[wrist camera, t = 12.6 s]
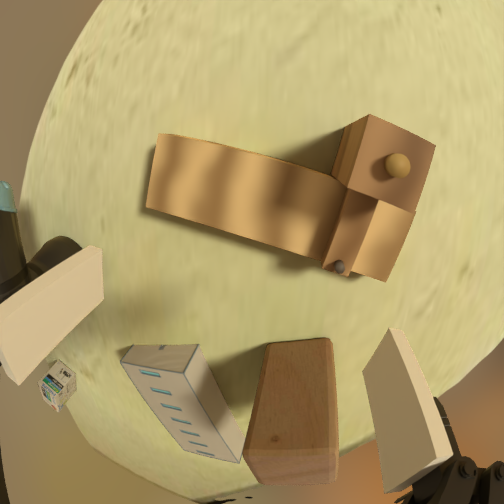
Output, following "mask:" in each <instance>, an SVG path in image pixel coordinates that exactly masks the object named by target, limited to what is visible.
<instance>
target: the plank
mask: <svg viewBox="0 0 504 504" xmlns="http://www.w3.org/2000/svg"><path fill="white" fill-rule="evenodd" d="M346 190H347V187H346V186H345V185H344V184H342V183H341V182H340V181H339V180H337V179H336V178H335V177H333V176H330V175H327V174H324V173H321V172H318V171H315V170H312V169H309V168H306V167H303V166H299V165H296V164H293V163H290V162H286V161H283V160H280V159H276V158H273V157H269V156H265V155H262V154H258V153H254V152H251V151H247V150H243V149H239V148H235V147H231V146H227V145H222V144H218V143H214V142H209V141H204V140H200V139H195V138H190V137H185V136H180V135H174V134H160V133H159V134H158V139H157V144H156V149H155V154H154V159H153V164H152V170H151V175H150V181H149V187H148V194H147V201H146V207H148V208H151V209H154V210H158V211H161V212H164V213H168V214H171V215H174V216H178V217H181V218H184V219H188V220H191V221H194V222H198V223H201V224H204V225H207V226H211V227H214V228H217V229H220V230H224V231H227V232H230V233H233V234H237V235H240V236H243V237H246V238H249V239H253V240H256V241H259V242H262V243H265V244H269V245H272V246H275V247H278V248H281V249H284V250H288V251H291V252H294V253H297V254H300V255H303V256H306V257H310V258H313V259H316V260H319V261H321V259H322V257H323V254H324V251H325V249H326V246H327V244H328V241H329V238H330V236H331V233H332V230H333V227H334V225H335V222H336V219H337V216H338V213H339V211H340V208H341V205H342V202H343V199H344V196H345V193H346ZM415 214H416V211H415V212H414V214H412V213H410V212H407V211H405V210H403V209H400V208H398V207H396V206H393V205H391V204H388V203H386V202H384V201H381V200H379V201H378V204H377V206H376V209H375V212H374V215H373V217H372V220H371V223H370V225H369V228H368V230H367V233H366V235H365V238H364V240H363V243H362V245H361V248H360V250H359V253H358V255H357V257H356V260H355V262H354V264H353V267H352V269H351V271H353V272H356V273H359V274H362V275H365V276H368V277H371V278H374V279H377V280H380V281H383V282H386V281H387V279H388V277H389V275H390V273H391V271H392V268H393V266H394V264H395V262H396V260H397V257H398V255H399V253H400V251H401V248H402V246H403V244H404V241H405V239H406V236H407V234H408V232H409V229H410V227H411V224H412V221H413V219H414V216H415Z"/></svg>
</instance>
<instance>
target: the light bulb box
mask: <svg viewBox="0 0 504 504" xmlns="http://www.w3.org/2000/svg"><path fill="white" fill-rule="evenodd" d="M38 386H39V388H40V391H41V394H42V398H43V400H44V401H46V402H47V403H48V404H49V405H50V406H51V407H53V408H54V409H55V410H56V411H57V412H59V411H60V410H61V409H62V407H63V406H64V405H65V404H66V402H67V401H68V400H69V399H70V397H71V396H72V395H73V394H74V392H75V391H76V376H75V373H74V372H73V371H72V370H70V369H69V368H68V367H67V366H65V365H64V364H63V363H62V362H61V361H60V360H58V361H57V362H56V363H55V364H54V365H53V366H52V367H51V368H50V369H49V371H48V372H47V373H46V374H45V375H44V376H43V377H42V378H41V379H40V380H39V381H38Z"/></svg>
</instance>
